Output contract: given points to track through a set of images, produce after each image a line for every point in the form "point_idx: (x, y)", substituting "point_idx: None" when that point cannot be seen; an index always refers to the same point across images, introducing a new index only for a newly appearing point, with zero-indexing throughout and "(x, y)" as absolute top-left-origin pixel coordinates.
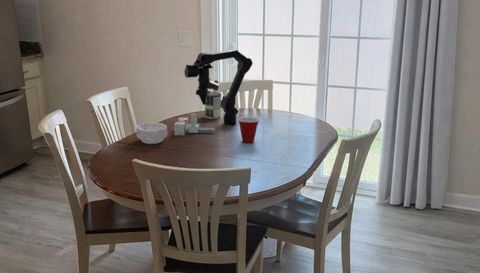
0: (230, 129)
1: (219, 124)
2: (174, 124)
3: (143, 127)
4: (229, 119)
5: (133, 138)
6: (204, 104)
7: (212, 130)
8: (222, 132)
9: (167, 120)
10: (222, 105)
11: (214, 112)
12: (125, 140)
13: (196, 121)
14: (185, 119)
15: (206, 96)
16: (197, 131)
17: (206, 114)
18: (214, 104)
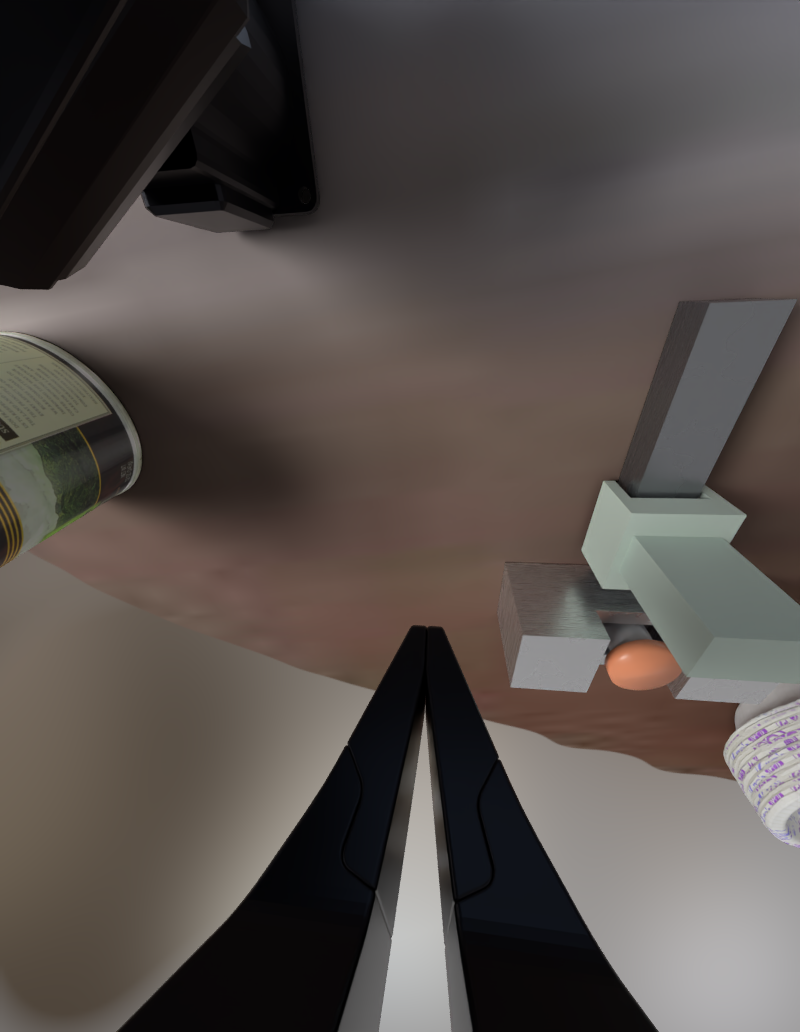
0: (574, 14)
1: (321, 294)
2: (756, 701)
3: (794, 814)
4: (262, 66)
5: (698, 754)
6: (444, 636)
7: (779, 320)
8: (735, 159)
9: (323, 674)
10: (83, 191)
11: (56, 416)
12: (725, 770)
13: (657, 557)
14: (590, 650)
15: (460, 872)
16: (708, 490)
17: (114, 489)
18: None
